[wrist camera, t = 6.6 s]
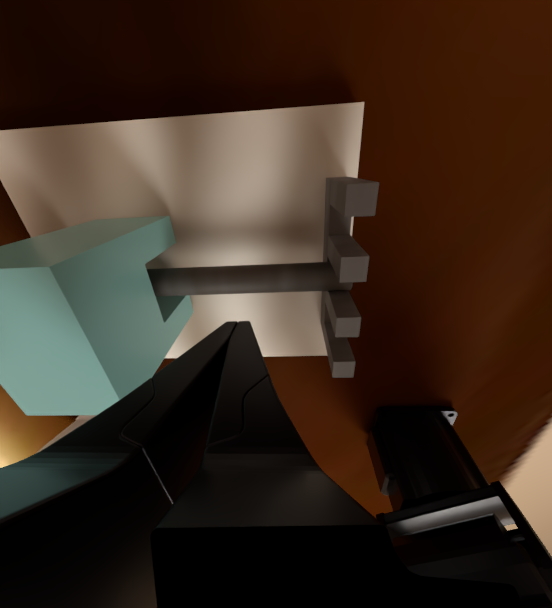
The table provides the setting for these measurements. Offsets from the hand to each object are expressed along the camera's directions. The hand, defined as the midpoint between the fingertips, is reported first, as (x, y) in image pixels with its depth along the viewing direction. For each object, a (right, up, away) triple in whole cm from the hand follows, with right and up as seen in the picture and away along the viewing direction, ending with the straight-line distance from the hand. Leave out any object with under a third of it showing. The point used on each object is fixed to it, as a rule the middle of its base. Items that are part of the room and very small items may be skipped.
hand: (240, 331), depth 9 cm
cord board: (-3, +4, +7) cm, 9 cm away
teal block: (-6, +3, +5) cm, 9 cm away
